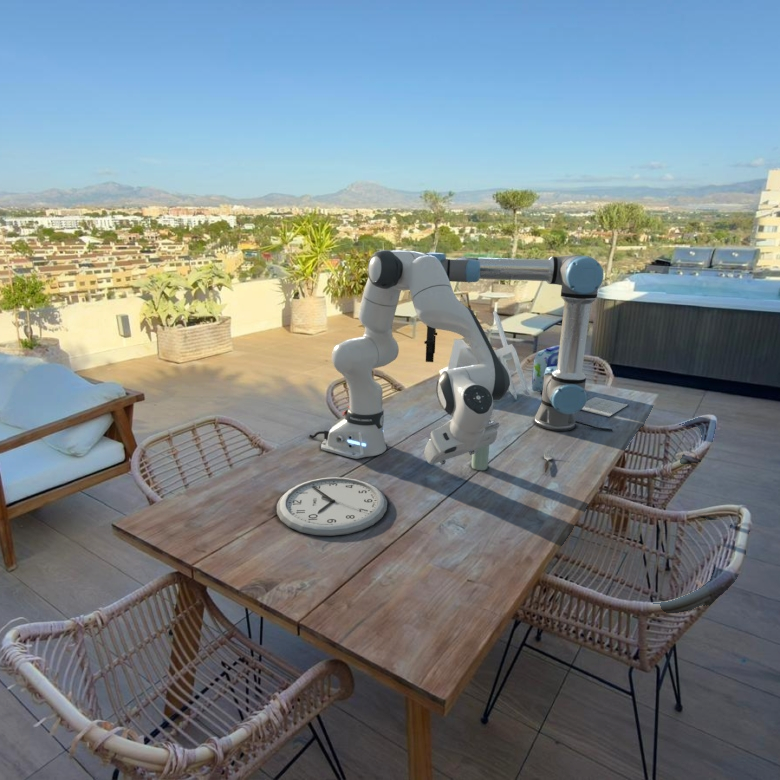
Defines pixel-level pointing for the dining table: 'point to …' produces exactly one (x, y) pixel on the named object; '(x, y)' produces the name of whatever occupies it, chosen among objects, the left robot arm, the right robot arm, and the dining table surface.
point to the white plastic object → (466, 357)
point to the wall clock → (331, 506)
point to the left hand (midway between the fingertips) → (456, 457)
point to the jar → (480, 458)
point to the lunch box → (543, 366)
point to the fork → (547, 459)
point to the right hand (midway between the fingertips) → (430, 357)
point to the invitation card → (603, 406)
